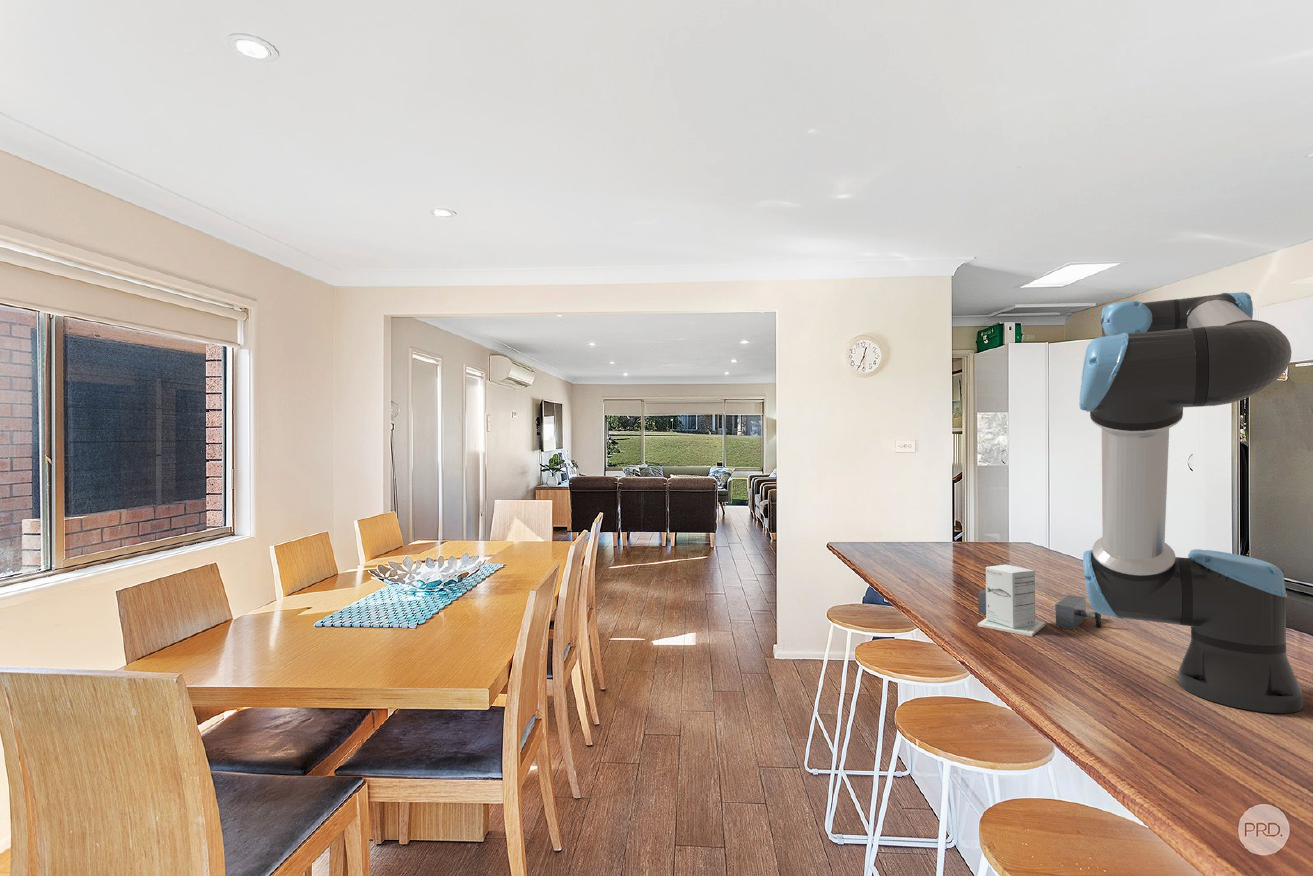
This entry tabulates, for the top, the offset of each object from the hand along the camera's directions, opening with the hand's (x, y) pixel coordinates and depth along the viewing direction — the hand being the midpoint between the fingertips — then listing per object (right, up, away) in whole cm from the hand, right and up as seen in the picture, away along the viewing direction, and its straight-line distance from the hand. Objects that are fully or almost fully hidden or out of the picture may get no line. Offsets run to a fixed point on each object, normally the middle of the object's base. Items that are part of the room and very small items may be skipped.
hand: (1126, 473), depth 132 cm
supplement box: (-20, -35, +9) cm, 41 cm away
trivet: (-19, -36, +9) cm, 42 cm away
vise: (-9, -35, +16) cm, 40 cm away
